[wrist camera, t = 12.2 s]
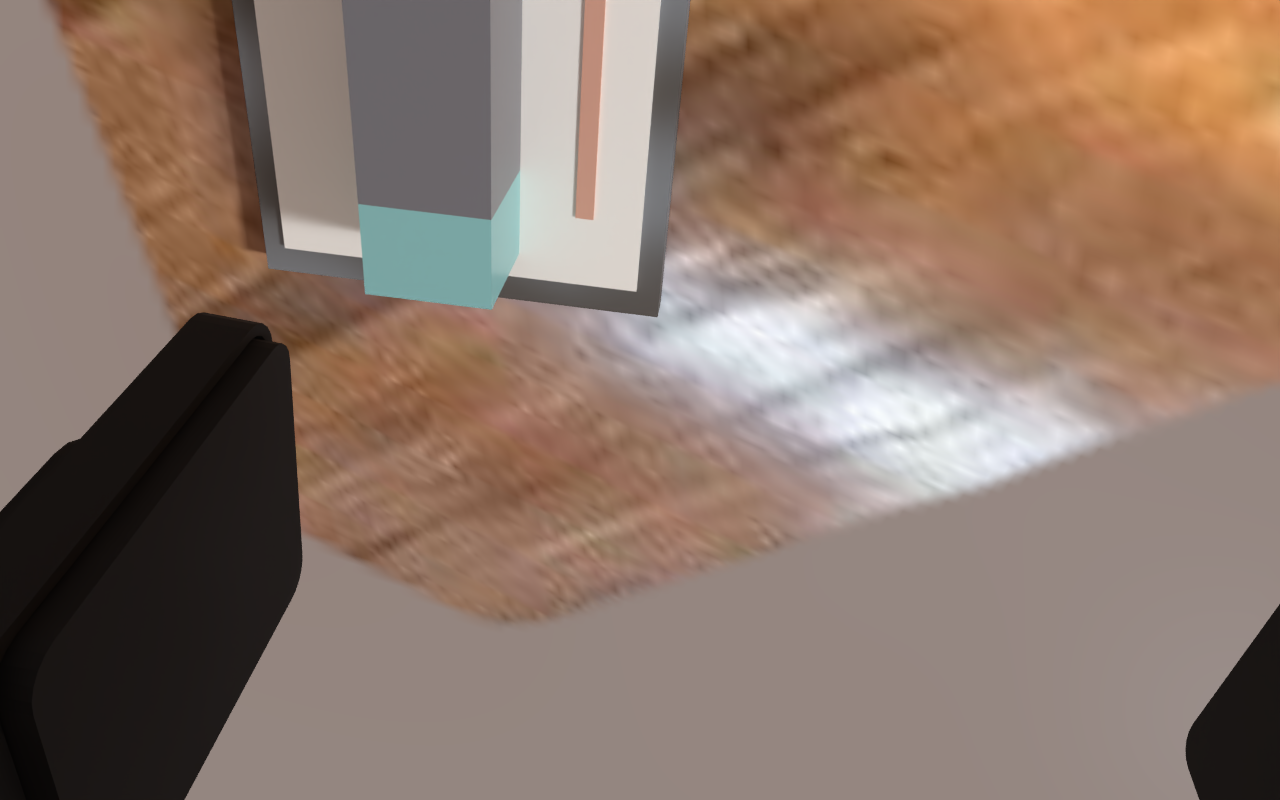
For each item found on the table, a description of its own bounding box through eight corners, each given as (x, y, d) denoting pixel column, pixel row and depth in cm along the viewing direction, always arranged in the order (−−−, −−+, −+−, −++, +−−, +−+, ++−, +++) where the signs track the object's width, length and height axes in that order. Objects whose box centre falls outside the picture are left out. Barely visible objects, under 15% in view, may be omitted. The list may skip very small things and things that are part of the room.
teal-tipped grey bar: (377, -255, 28) (321, -249, 25) (524, -241, 28) (489, -233, 24) (404, 239, 36) (365, 293, 33) (519, 253, 36) (491, 309, 32)
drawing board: (207, -304, 29) (184, -304, 28) (715, -256, 28) (712, -254, 27) (279, 256, 38) (265, 272, 37) (660, 303, 38) (656, 321, 36)
